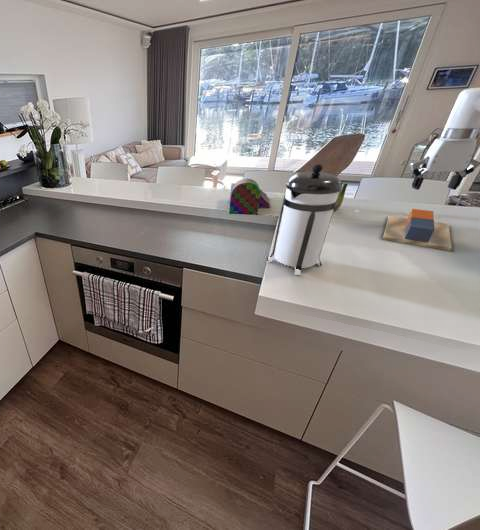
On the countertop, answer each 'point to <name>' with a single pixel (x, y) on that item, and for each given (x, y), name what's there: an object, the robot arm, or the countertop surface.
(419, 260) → the countertop surface
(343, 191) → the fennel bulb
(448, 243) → the tan wooden board
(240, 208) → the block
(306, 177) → the coffee press
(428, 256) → the countertop surface
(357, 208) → the countertop surface
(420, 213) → the orange rectangular block
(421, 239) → the blue gray block
